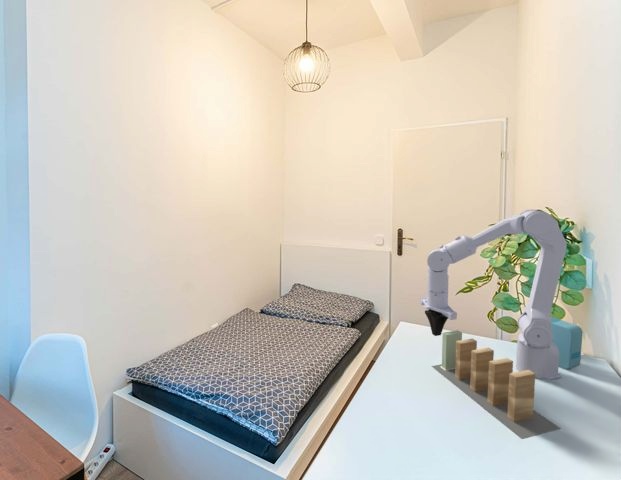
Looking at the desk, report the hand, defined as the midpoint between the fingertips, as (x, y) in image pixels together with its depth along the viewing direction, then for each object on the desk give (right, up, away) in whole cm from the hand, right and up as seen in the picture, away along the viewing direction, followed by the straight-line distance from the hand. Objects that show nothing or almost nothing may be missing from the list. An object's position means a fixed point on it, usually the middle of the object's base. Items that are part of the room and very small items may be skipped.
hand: (436, 334), depth 96 cm
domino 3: (+6, -9, -22) cm, 24 cm away
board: (+5, -10, -18) cm, 21 cm away
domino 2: (+5, -9, -16) cm, 19 cm away
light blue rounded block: (+33, -7, -2) cm, 34 cm away
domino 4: (+7, -10, -27) cm, 30 cm away
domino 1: (+3, -8, -11) cm, 14 cm away
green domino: (+2, -7, -6) cm, 10 cm away
